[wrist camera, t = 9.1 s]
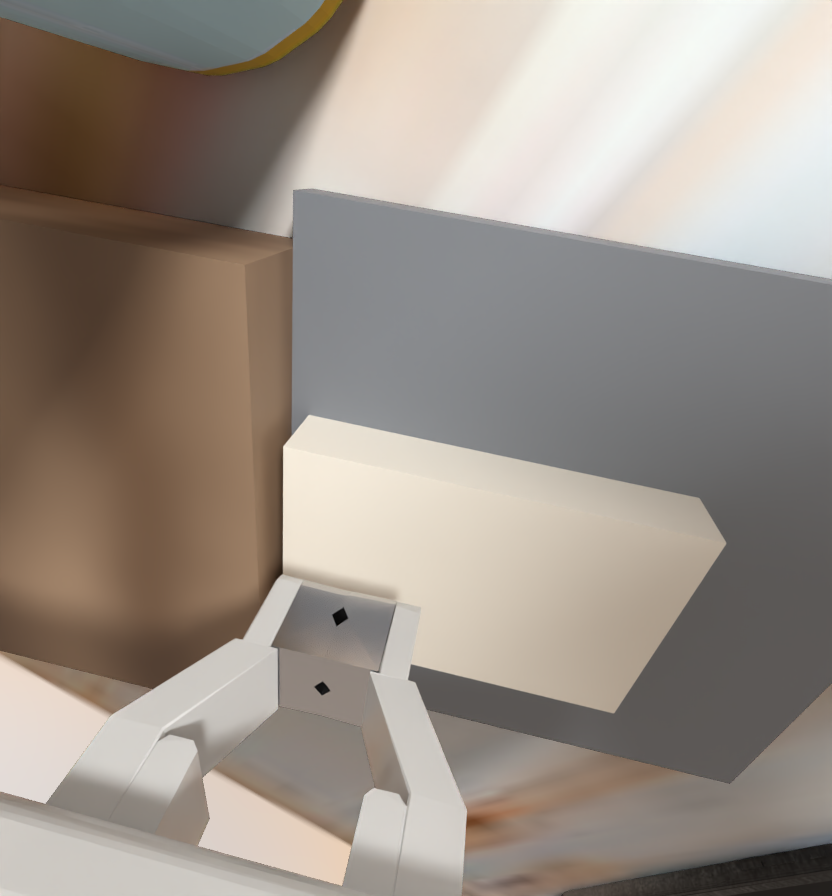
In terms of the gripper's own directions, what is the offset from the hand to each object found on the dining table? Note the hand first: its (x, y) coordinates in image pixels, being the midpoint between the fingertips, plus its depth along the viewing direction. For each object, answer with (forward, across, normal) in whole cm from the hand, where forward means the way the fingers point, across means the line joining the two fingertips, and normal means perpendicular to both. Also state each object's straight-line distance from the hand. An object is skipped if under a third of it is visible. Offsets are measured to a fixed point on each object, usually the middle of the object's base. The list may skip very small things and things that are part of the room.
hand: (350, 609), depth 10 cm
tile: (+3, -2, 0) cm, 4 cm away
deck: (+4, +11, 0) cm, 12 cm away
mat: (+4, -5, 0) cm, 6 cm away
